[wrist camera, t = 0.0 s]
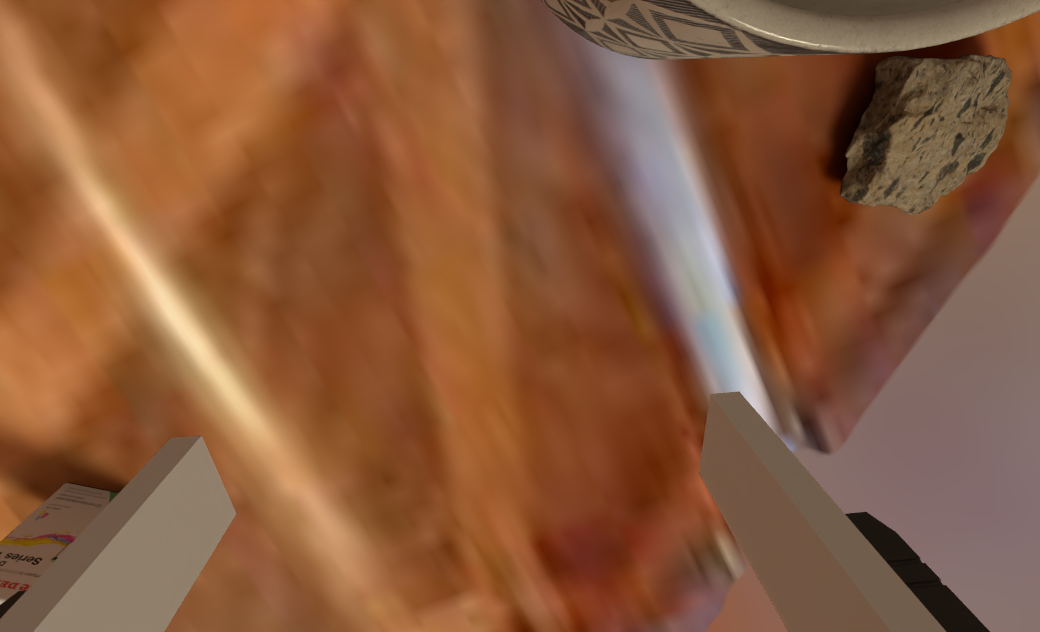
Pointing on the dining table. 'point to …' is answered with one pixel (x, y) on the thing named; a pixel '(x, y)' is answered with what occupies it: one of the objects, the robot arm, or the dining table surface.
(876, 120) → the rock
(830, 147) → the dining table surface
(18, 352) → the dining table surface
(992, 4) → the planter
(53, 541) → the ink box
